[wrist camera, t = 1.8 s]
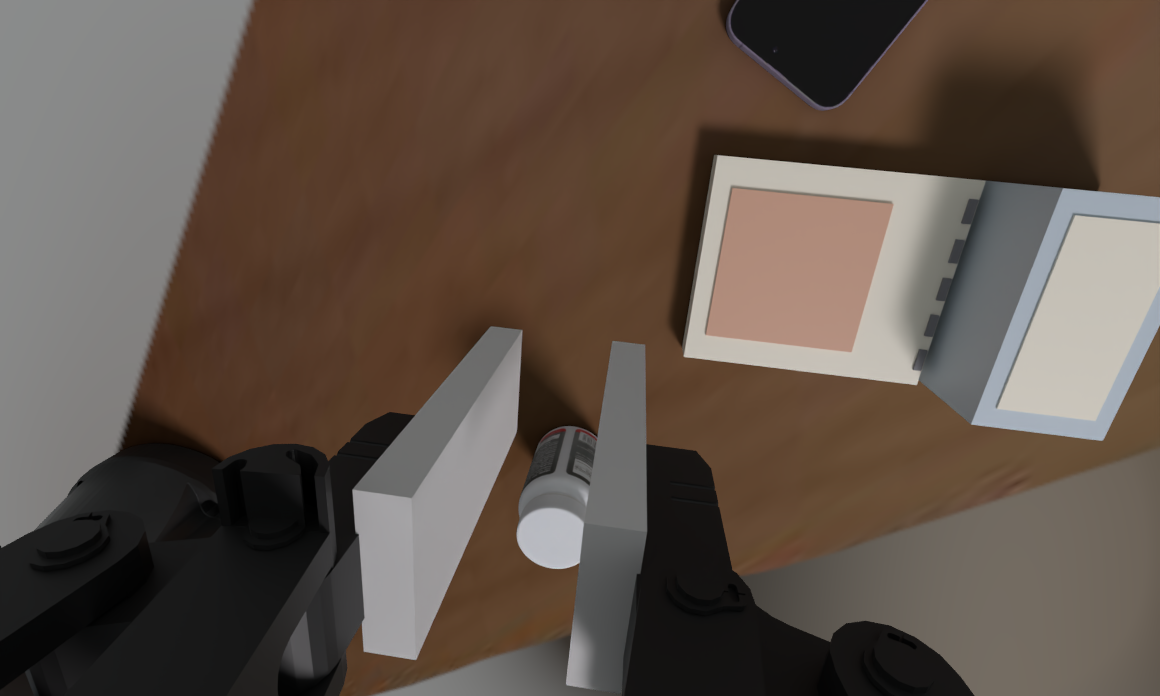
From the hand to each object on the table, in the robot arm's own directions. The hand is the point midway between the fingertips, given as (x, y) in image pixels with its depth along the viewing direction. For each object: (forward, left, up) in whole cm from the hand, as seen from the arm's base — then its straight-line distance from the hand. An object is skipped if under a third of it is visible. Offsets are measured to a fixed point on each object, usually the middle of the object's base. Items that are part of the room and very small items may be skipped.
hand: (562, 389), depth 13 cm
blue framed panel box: (+21, 0, -19) cm, 29 cm away
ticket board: (+12, 0, -19) cm, 23 cm away
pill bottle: (-1, -14, -20) cm, 24 cm away
